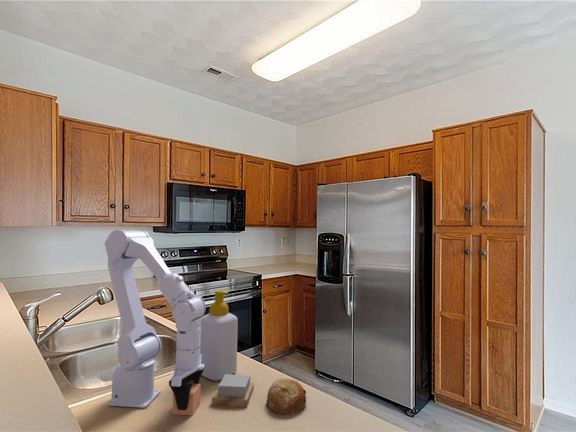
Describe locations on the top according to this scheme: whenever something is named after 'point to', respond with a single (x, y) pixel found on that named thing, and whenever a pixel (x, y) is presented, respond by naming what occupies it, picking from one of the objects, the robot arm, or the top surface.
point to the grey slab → (234, 385)
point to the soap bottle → (219, 340)
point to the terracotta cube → (193, 401)
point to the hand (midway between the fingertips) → (186, 403)
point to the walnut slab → (233, 399)
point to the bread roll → (286, 396)
